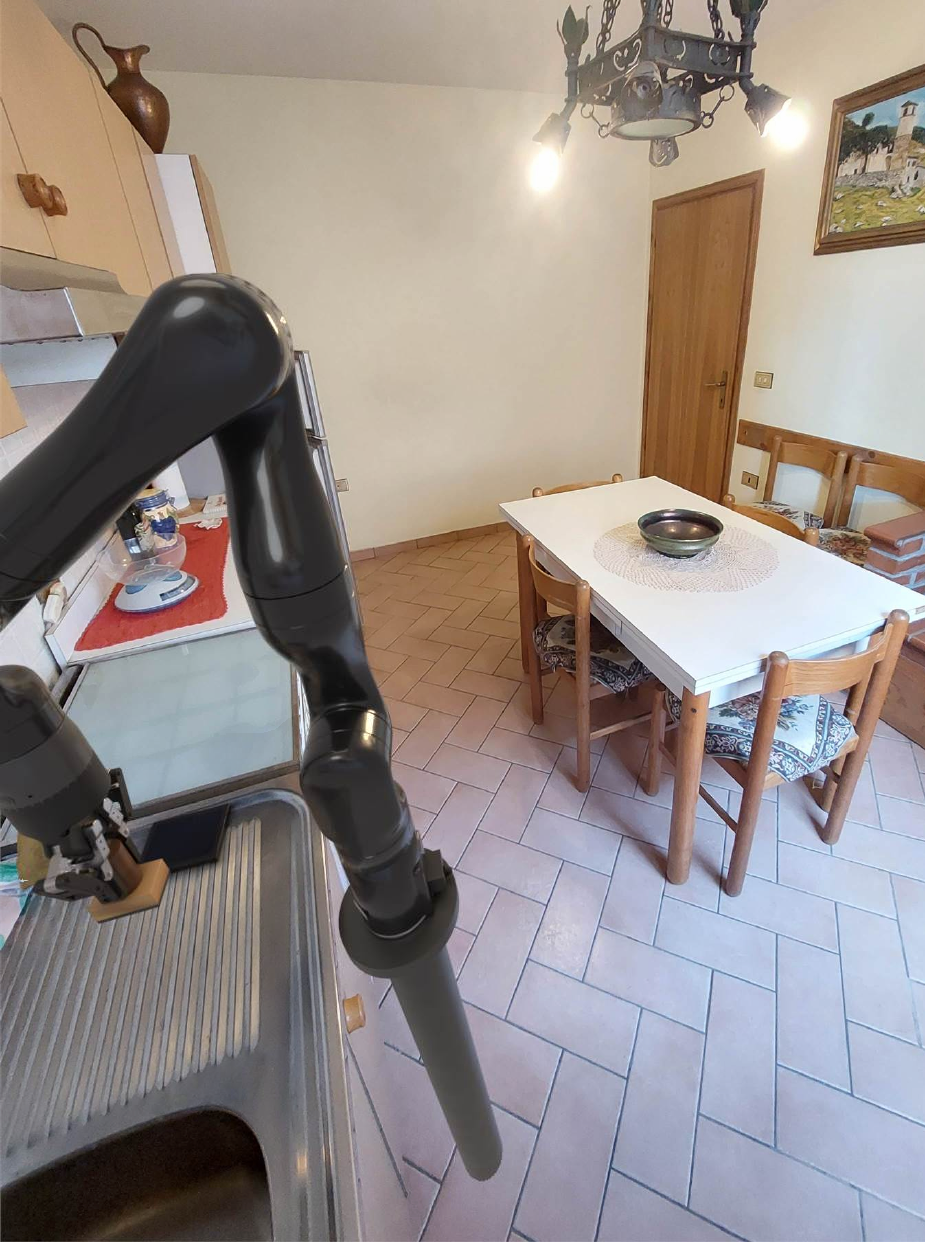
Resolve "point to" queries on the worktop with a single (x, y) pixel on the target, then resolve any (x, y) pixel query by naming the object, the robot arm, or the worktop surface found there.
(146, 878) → the stamp
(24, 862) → the rock
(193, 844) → the ink pad
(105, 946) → the worktop surface
